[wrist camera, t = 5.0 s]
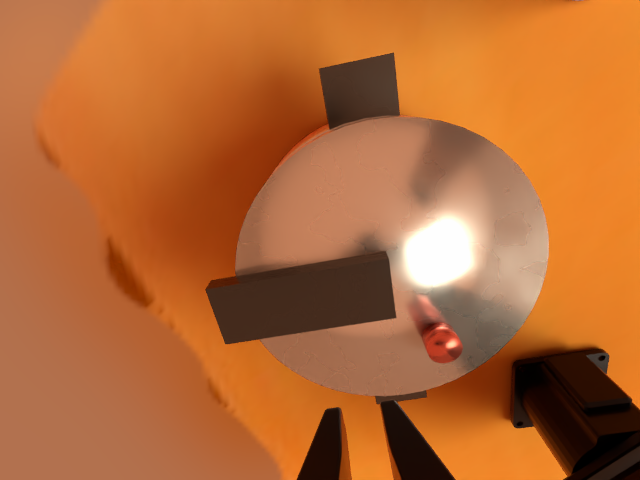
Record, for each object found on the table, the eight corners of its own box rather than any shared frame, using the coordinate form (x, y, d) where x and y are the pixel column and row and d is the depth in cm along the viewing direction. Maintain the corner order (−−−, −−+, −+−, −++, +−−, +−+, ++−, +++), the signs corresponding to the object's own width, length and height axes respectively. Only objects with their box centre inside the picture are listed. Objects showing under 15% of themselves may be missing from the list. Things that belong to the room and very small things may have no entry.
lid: (529, 362, 18) (552, 391, 16) (261, 399, 19) (255, 430, 18) (543, 83, 13) (580, 79, 11) (178, 156, 14) (156, 164, 12)
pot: (486, 334, 24) (526, 390, 19) (293, 364, 25) (287, 423, 20) (484, 42, 17) (545, 18, 12) (218, 98, 18) (183, 96, 13)
